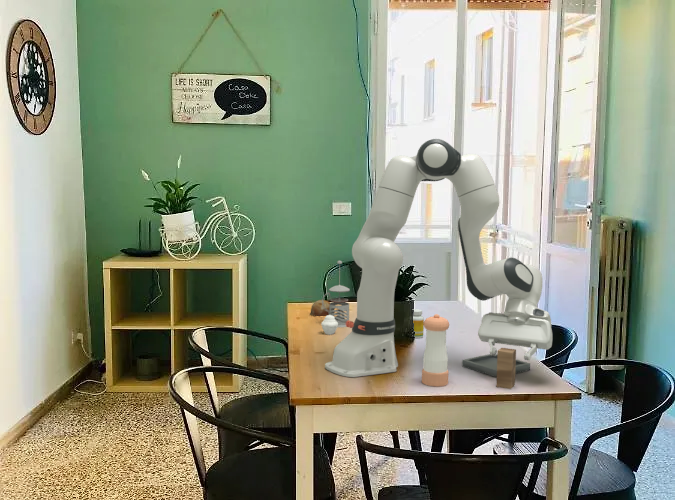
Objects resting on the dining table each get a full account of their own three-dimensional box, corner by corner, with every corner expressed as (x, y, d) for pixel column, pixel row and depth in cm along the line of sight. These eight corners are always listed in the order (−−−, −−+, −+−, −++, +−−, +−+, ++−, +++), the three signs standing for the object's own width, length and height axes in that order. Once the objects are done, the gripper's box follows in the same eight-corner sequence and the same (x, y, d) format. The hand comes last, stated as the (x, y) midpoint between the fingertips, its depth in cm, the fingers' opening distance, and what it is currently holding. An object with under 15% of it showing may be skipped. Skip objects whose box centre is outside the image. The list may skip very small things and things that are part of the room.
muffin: (318, 334, 236) (318, 315, 236) (324, 331, 242) (324, 312, 241) (335, 336, 234) (335, 316, 234) (340, 332, 240) (340, 313, 239)
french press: (349, 327, 248) (350, 262, 245) (319, 326, 250) (320, 261, 247) (353, 322, 257) (354, 259, 255) (324, 321, 259) (324, 258, 257)
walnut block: (511, 389, 176) (512, 352, 175) (496, 386, 178) (497, 350, 177) (514, 385, 180) (516, 349, 179) (500, 382, 182) (501, 347, 180)
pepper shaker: (453, 382, 182) (455, 314, 180) (438, 388, 176) (440, 318, 174) (431, 377, 186) (432, 310, 184) (416, 382, 181) (418, 314, 179)
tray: (498, 377, 186) (498, 371, 186) (462, 366, 197) (462, 359, 197) (530, 370, 194) (530, 363, 194) (493, 359, 205) (493, 353, 205)
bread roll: (311, 321, 277) (304, 304, 275) (332, 309, 279) (325, 293, 277) (318, 326, 267) (310, 309, 265) (340, 314, 269) (332, 297, 268)
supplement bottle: (405, 336, 234) (405, 310, 233) (414, 334, 238) (414, 308, 237) (417, 339, 231) (418, 312, 230) (426, 336, 235) (427, 310, 234)
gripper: (482, 305, 191) (470, 345, 183) (554, 313, 181) (545, 355, 173) (486, 318, 195) (475, 357, 188) (557, 325, 185) (548, 368, 178)
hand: (509, 356), depth 180 cm, fingers open, 8 cm apart
